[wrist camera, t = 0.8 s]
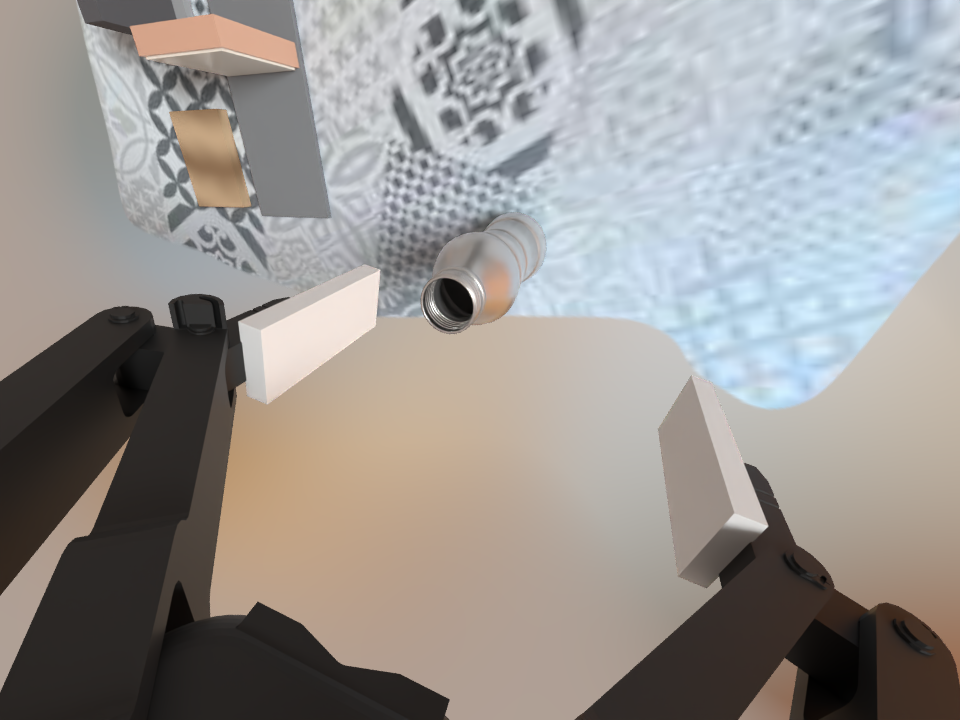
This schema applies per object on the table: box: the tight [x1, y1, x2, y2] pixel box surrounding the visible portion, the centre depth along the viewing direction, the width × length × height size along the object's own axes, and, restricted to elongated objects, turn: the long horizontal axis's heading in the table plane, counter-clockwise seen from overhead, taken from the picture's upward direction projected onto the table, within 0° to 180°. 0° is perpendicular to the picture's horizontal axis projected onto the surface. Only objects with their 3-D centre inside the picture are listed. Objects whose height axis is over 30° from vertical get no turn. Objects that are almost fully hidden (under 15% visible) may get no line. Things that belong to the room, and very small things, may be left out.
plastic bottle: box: [421, 212, 546, 334], centre depth 32 cm, size 6×7×20 cm
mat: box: [208, 0, 331, 218], centre depth 41 cm, size 22×10×1 cm, turn 0°
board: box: [169, 109, 251, 207], centre depth 46 cm, size 10×7×1 cm
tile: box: [130, 14, 299, 76], centre depth 36 cm, size 2×9×9 cm, turn 91°
